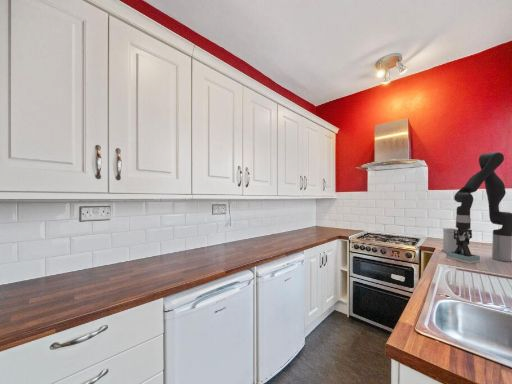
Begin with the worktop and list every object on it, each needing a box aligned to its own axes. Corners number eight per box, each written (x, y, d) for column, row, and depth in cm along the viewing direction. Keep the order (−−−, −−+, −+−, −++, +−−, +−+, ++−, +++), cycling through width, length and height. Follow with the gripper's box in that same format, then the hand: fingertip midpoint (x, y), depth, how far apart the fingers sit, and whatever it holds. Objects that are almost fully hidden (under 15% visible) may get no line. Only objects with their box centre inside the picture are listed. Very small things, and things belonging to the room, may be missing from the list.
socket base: (456, 256, 166) (456, 250, 166) (479, 261, 153) (479, 255, 153) (446, 257, 163) (446, 251, 163) (468, 263, 150) (469, 257, 150)
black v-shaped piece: (473, 259, 155) (473, 241, 155) (468, 260, 153) (469, 242, 153) (456, 255, 164) (457, 239, 163) (452, 256, 161) (452, 239, 161)
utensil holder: (473, 255, 169) (474, 231, 169) (453, 254, 170) (453, 231, 169) (456, 249, 184) (457, 228, 184) (437, 249, 184) (438, 227, 184)
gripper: (463, 220, 164) (463, 242, 164) (449, 221, 159) (449, 244, 160) (476, 221, 156) (476, 245, 157) (462, 222, 152) (461, 247, 153)
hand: (462, 244), depth 158 cm, fingers open, 8 cm apart
